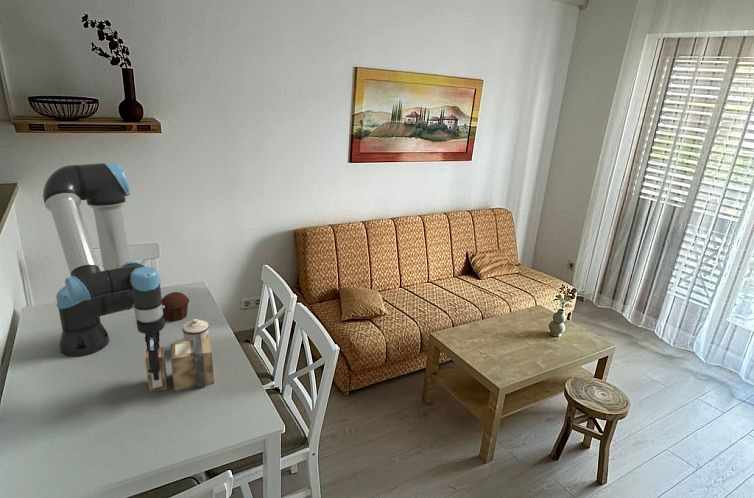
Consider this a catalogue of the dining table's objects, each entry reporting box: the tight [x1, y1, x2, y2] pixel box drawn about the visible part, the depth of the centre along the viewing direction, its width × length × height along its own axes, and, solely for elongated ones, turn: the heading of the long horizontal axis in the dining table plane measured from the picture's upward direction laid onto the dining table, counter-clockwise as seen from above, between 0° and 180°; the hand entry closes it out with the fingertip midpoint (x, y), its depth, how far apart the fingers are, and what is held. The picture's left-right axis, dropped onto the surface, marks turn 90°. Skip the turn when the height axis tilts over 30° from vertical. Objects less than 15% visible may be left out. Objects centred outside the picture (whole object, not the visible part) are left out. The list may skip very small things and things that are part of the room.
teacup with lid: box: [181, 318, 210, 342], centre depth 167 cm, size 12×9×12 cm
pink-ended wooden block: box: [144, 346, 168, 393], centre depth 145 cm, size 5×6×12 cm
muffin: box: [162, 291, 190, 322], centre depth 187 cm, size 12×11×10 cm
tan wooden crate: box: [170, 334, 215, 391], centre depth 149 cm, size 12×12×13 cm
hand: (157, 380), depth 146 cm, fingers closed on pink-ended wooden block, 6 cm apart
